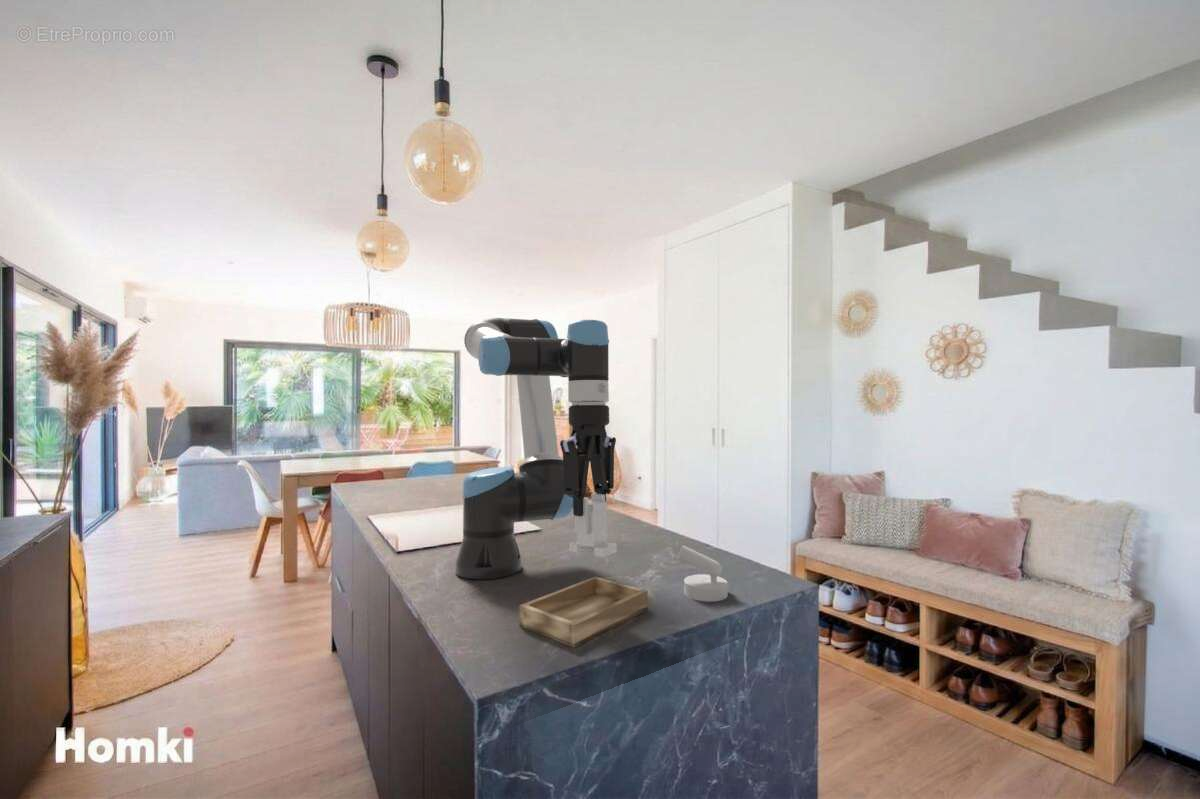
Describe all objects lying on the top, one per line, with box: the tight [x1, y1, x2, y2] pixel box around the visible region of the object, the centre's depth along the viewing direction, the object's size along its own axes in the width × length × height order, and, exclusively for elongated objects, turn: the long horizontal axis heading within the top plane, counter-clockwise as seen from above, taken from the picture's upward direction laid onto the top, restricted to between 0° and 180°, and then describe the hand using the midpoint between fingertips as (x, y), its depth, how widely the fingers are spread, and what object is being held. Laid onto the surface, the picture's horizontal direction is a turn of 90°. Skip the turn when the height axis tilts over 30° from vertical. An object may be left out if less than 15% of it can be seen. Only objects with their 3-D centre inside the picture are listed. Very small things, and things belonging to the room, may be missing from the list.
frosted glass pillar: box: [568, 499, 618, 558], centre depth 97 cm, size 8×4×9 cm, turn 51°
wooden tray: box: [518, 575, 649, 649], centre depth 95 cm, size 13×20×4 cm, turn 139°
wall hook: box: [676, 544, 729, 603], centre depth 106 cm, size 9×10×10 cm
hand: (590, 530), depth 97 cm, fingers closed on frosted glass pillar, 4 cm apart
